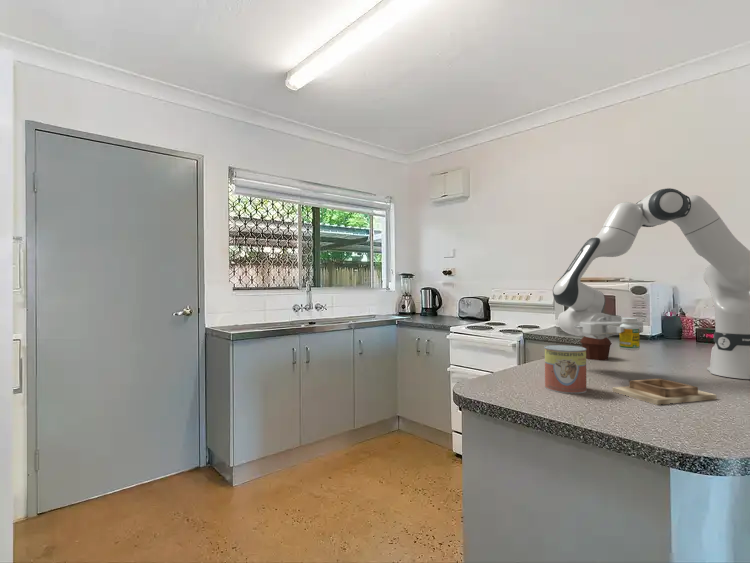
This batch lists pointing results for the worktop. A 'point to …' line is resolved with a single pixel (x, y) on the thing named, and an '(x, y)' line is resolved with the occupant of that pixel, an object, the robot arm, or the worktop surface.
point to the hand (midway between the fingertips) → (631, 329)
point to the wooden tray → (663, 391)
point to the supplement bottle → (629, 335)
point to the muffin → (596, 348)
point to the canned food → (565, 368)
